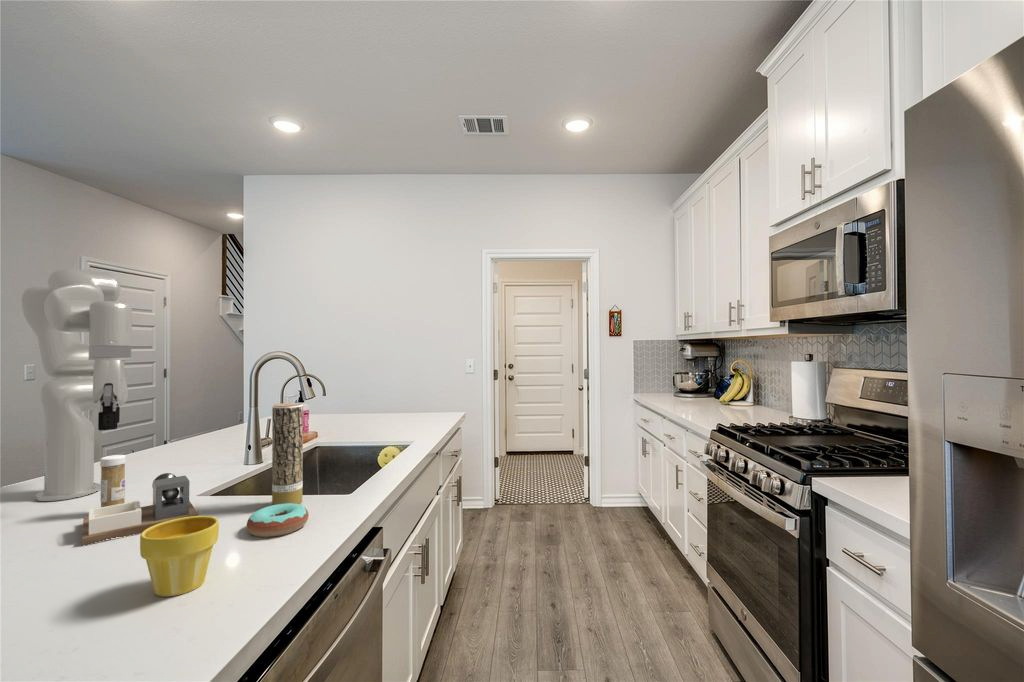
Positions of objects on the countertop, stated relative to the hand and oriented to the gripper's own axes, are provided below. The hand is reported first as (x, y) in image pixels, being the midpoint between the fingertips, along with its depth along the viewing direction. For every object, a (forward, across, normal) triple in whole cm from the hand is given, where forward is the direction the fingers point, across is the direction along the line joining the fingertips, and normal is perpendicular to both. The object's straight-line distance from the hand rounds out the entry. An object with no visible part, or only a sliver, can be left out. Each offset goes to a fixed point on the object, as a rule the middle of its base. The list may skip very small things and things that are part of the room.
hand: (109, 426), depth 105 cm
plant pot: (+20, +50, +12) cm, 55 cm away
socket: (+19, +13, +2) cm, 23 cm away
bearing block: (+19, +13, +11) cm, 26 cm away
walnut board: (+21, +11, +6) cm, 24 cm away
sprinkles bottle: (+21, -1, +1) cm, 21 cm away
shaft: (+17, +8, +11) cm, 22 cm away
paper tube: (+21, +19, +34) cm, 44 cm away
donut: (+21, +34, +29) cm, 49 cm away
